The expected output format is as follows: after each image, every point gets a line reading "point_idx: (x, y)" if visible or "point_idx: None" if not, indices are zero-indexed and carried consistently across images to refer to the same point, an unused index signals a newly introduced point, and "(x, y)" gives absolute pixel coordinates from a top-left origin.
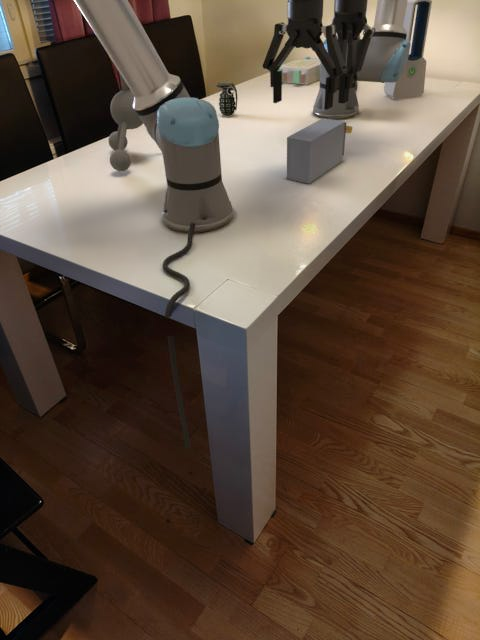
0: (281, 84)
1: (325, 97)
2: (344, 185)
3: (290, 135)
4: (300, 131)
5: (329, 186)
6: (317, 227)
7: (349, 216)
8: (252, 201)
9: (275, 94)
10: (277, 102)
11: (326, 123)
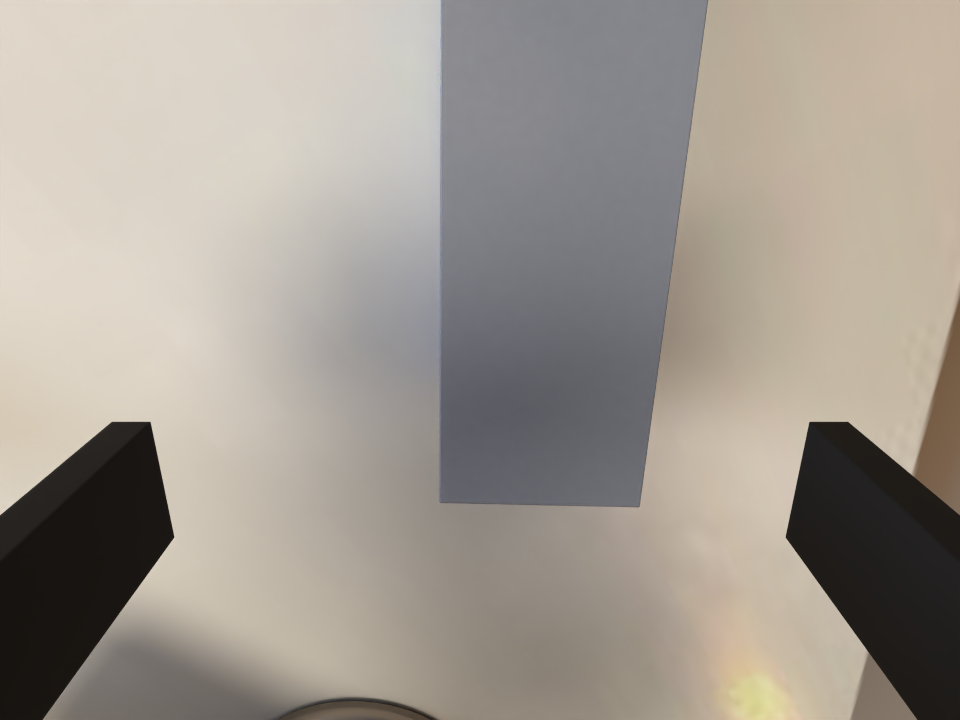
0: (29, 545)
1: (858, 629)
2: (766, 315)
3: (440, 460)
4: (461, 350)
5: (697, 361)
6: (779, 685)
7: None
8: (452, 629)
9: (118, 602)
10: (167, 506)
11: (567, 18)
